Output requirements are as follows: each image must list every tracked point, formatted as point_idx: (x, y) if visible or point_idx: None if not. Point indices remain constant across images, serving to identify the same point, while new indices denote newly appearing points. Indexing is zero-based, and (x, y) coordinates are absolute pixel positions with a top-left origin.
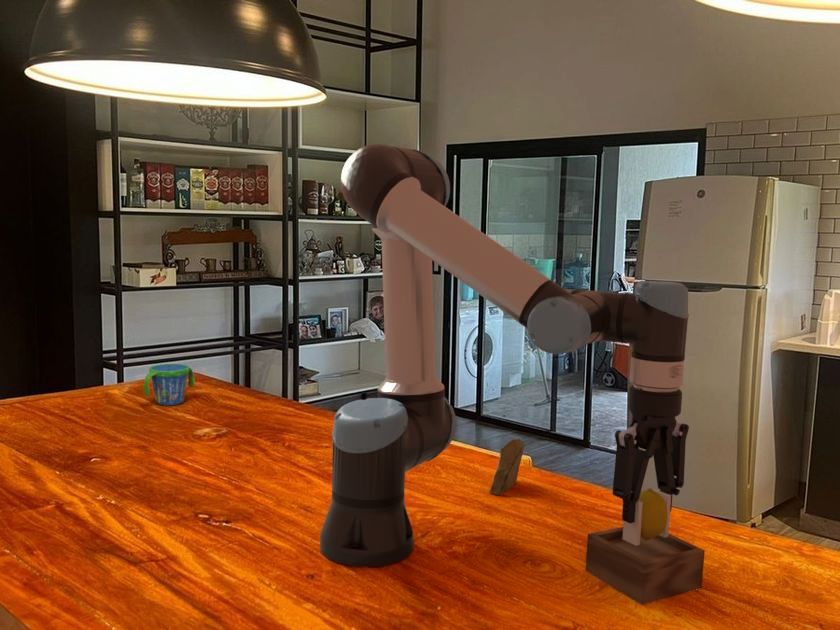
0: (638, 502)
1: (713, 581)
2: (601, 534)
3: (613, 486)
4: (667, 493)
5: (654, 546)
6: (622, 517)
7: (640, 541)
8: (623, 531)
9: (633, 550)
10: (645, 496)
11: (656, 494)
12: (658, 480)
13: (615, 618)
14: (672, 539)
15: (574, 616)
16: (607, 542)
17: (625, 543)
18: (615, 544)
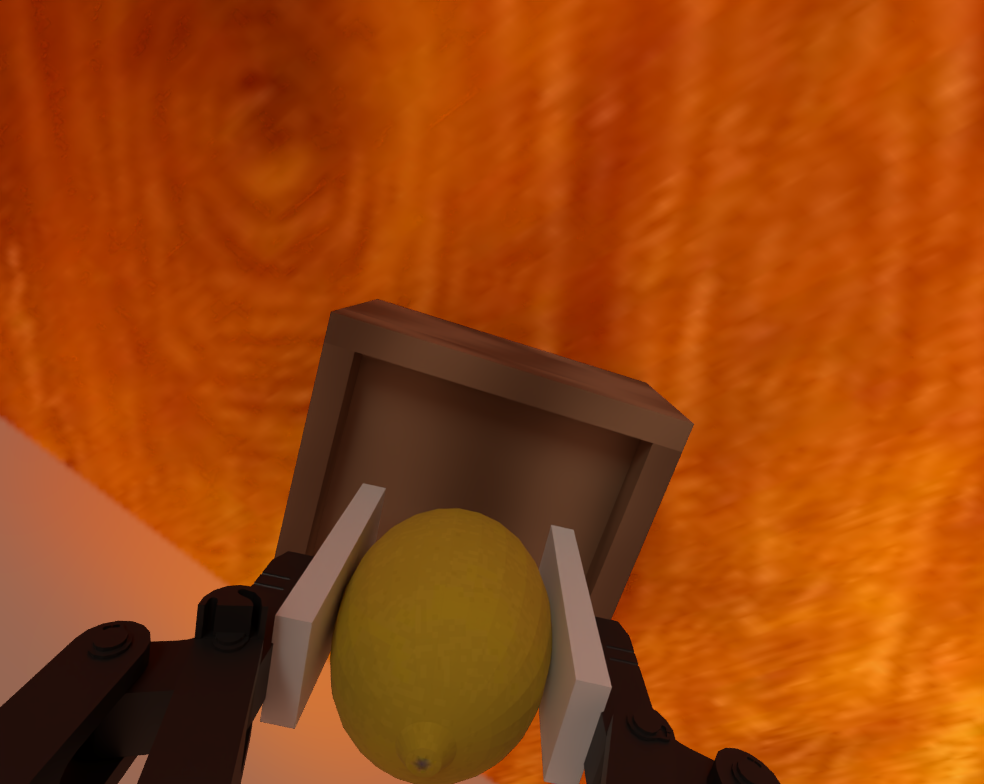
0: (263, 716)
1: (632, 617)
2: (381, 359)
3: (32, 681)
4: (583, 768)
5: (527, 527)
6: (271, 563)
7: (530, 466)
8: (351, 503)
9: (421, 491)
10: (356, 732)
11: (430, 781)
12: (604, 779)
13: (187, 532)
14: (592, 586)
15: (94, 450)
16: (324, 427)
17: (462, 433)
18: (415, 411)
